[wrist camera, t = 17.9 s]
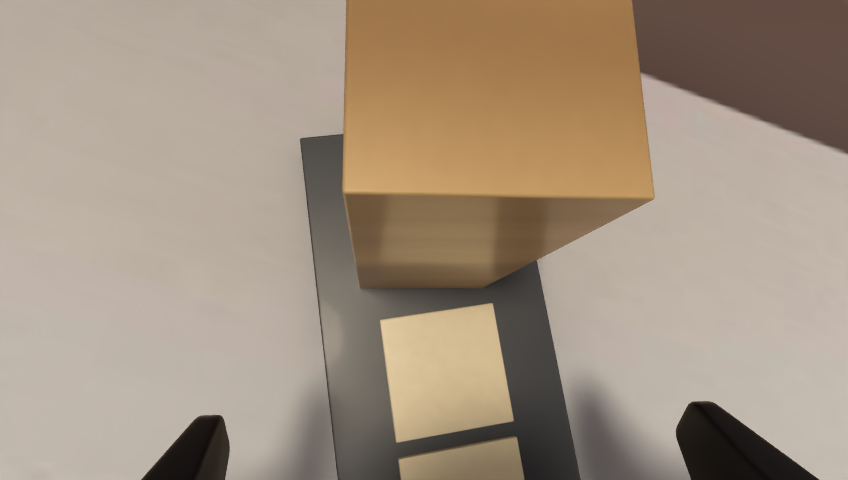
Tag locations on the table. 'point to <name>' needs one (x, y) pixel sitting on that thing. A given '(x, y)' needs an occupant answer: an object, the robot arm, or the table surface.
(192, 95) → the table surface
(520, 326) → the word board
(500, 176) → the tall tan block
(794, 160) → the table surface
